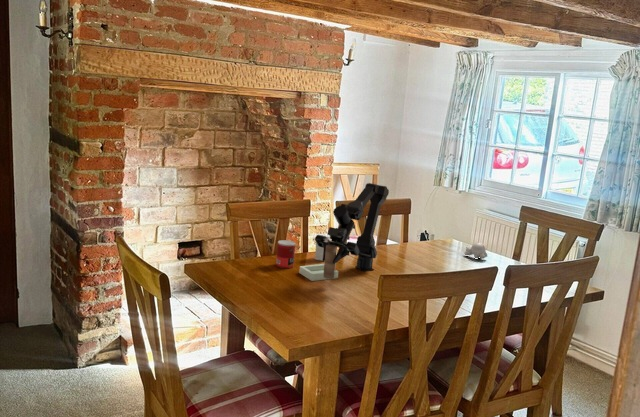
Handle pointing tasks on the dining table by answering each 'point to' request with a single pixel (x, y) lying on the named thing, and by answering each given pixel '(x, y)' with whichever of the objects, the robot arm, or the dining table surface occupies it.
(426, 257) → the dining table surface
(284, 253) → the canned food
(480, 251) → the chubby cartoon animal
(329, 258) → the brown round cylinder
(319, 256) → the skincare box
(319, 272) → the tray
